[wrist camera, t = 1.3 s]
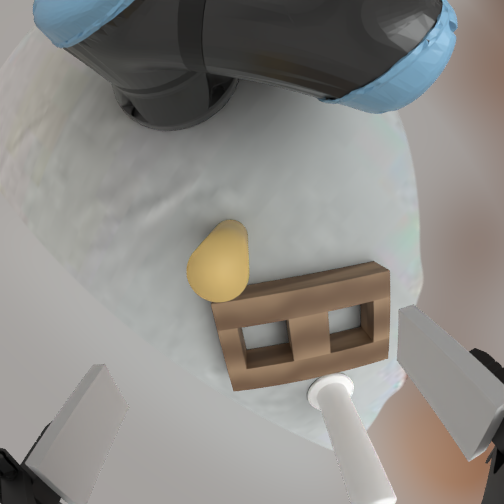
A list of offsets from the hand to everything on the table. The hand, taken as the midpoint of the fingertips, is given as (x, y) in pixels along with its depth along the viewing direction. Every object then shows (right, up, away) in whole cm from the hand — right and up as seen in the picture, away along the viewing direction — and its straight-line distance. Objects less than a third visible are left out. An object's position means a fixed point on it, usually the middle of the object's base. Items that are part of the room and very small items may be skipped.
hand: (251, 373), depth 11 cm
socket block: (+7, -4, +24) cm, 25 cm away
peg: (-2, +7, +22) cm, 23 cm away
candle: (+12, -16, +27) cm, 33 cm away
